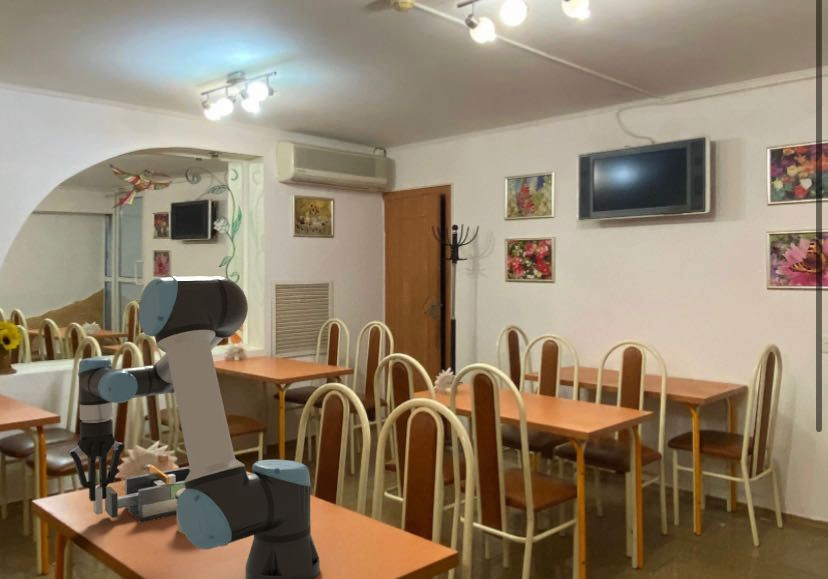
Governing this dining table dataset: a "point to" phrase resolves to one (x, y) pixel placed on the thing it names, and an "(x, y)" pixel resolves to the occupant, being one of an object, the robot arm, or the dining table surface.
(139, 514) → the gauge housing
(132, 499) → the grey t-handle block
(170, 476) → the marker
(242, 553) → the dining table surface
